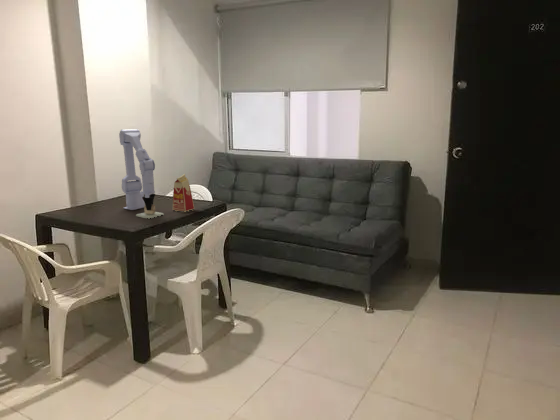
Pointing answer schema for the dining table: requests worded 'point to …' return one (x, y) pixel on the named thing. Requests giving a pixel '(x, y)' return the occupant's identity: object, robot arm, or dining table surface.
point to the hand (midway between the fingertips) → (149, 208)
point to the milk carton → (182, 195)
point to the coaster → (149, 215)
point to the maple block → (149, 210)
